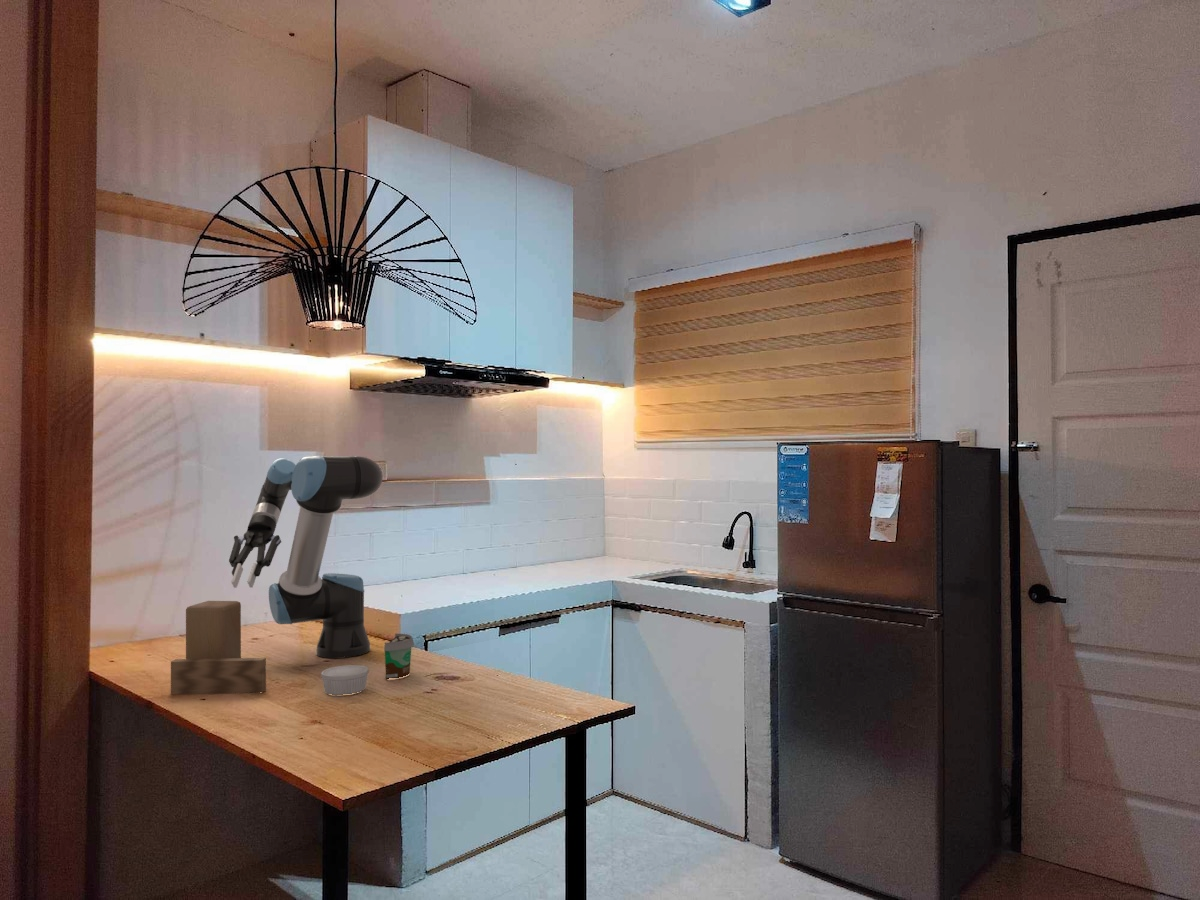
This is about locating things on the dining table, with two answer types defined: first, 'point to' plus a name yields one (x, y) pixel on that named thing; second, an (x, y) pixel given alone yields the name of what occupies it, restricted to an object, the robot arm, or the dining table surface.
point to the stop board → (218, 676)
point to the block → (213, 630)
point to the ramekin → (345, 679)
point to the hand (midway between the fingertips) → (242, 584)
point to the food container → (398, 656)
